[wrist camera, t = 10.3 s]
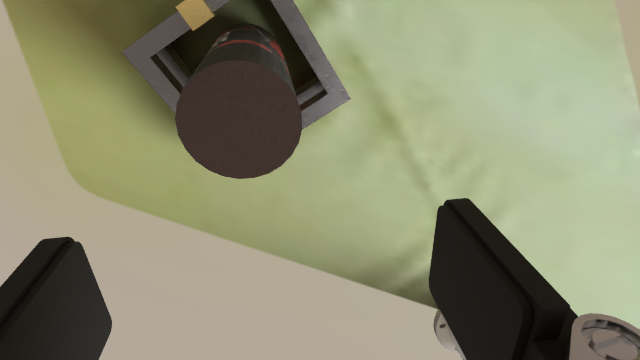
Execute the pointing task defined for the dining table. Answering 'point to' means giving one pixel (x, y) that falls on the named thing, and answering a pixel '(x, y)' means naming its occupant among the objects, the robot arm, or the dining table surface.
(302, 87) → the grey open cube frame
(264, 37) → the deodorant
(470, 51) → the dining table surface
